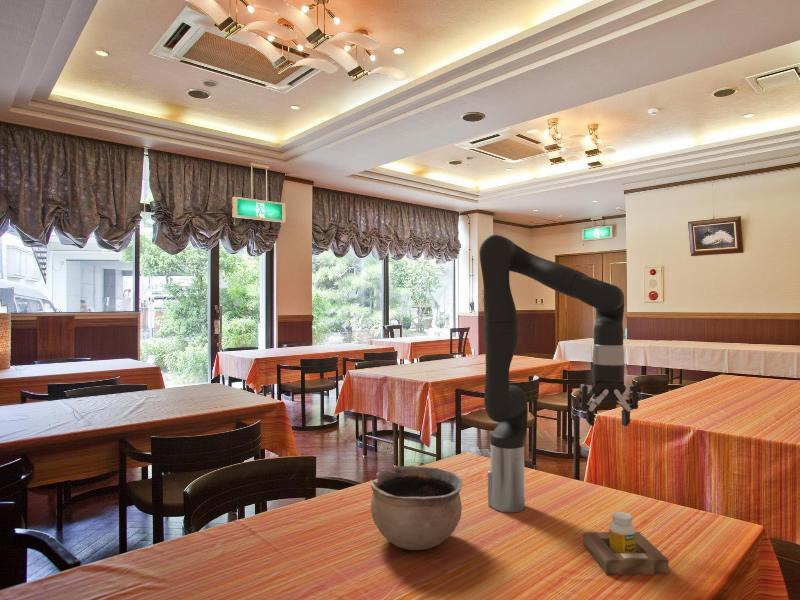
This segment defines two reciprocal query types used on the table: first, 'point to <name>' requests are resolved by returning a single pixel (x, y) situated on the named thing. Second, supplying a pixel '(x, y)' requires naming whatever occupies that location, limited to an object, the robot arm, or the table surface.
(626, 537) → the supplement bottle
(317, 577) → the table surface
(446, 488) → the ceramic bowl
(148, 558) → the table surface
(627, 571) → the socket holder
